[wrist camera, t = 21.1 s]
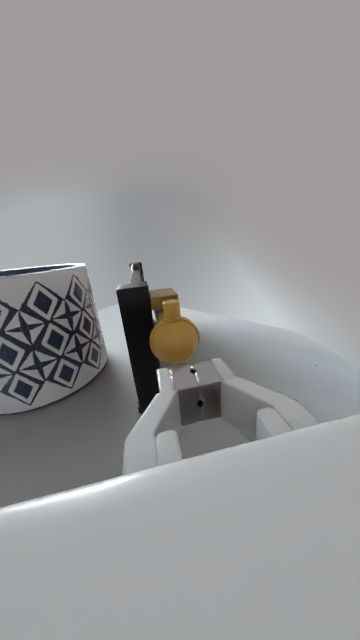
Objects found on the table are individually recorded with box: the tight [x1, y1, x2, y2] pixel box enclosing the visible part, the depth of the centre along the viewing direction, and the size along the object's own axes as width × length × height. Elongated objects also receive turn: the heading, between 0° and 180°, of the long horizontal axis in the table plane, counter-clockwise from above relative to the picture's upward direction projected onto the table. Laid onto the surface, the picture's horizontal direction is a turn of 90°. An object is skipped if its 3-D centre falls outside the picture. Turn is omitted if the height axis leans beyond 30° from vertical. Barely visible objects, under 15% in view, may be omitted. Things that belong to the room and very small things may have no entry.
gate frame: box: [116, 262, 178, 416], centre depth 31 cm, size 29×5×13 cm, turn 12°
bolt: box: [150, 299, 200, 364], centre depth 16 cm, size 11×3×4 cm, turn 12°
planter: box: [0, 264, 107, 414], centre depth 26 cm, size 16×16×14 cm
